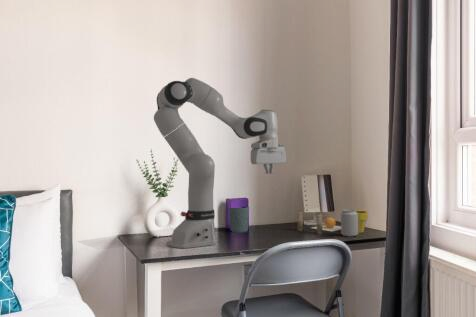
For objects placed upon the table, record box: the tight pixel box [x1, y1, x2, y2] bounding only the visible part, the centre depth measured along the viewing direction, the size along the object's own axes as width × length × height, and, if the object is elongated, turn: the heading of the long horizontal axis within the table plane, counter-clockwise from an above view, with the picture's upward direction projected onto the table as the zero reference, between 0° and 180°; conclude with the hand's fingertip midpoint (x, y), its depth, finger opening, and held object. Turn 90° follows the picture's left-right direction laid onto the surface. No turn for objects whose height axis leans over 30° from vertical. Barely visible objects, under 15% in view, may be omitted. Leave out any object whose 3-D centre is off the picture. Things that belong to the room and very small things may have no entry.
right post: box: [316, 213, 323, 235], centre depth 223 cm, size 3×3×9 cm
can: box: [340, 208, 359, 238], centre depth 216 cm, size 8×8×12 cm
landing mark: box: [310, 224, 341, 232], centre depth 237 cm, size 14×14×1 cm
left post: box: [296, 211, 304, 232], centre depth 232 cm, size 3×3×9 cm
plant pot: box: [355, 209, 369, 234], centre depth 226 cm, size 10×10×10 cm
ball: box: [323, 217, 336, 228], centre depth 237 cm, size 6×6×6 cm
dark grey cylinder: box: [228, 205, 250, 233], centre depth 234 cm, size 10×10×12 cm
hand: (269, 173), depth 222 cm, fingers closed
